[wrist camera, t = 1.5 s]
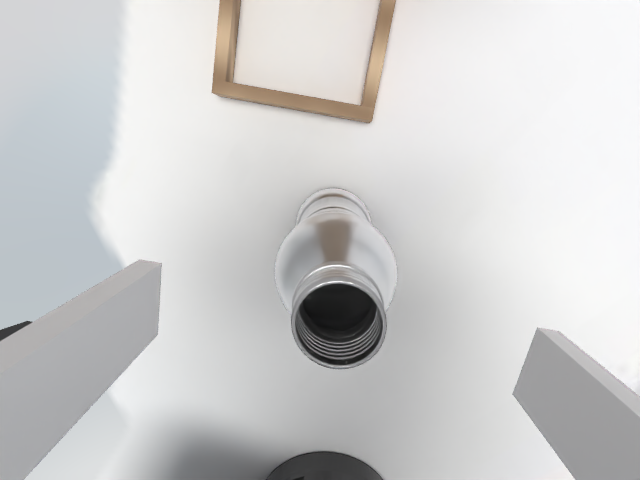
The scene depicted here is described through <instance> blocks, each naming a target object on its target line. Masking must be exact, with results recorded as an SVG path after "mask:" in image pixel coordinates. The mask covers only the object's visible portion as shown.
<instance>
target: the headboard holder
mask: <svg viewBox="0 0 640 480" xmlns="http://www.w3.org/2000/svg"><path fill="white" fill-rule="evenodd" d="M395 2H396V0H380V5H379V11H378V16H377V21H376V27H375V32H374V37H373V43H372V48H371V53H370V58H369V64H368V69H367V74H366V80H365V85H364V90H363V96H362V101H361V106H359V105H354V104H348V103H343V102H337V101H331V100H326V99H320V98H315V97H309V96H304V95H298V94H292V93H287V92H281V91H276V90H270V89H265V88H259V87H253V86H248V85H242V84H237V83H233V73H234V63H235V54H236V44H237V34H238V24H239V14H240V4H241V0H220V4H219V16H218V27H217V39H216V50H215V62H214V73H213V84H212V93H214V94H216V95H218V96H220V97H226V98H231V99H237V100H243V101H248V102H254V103H259V104H265V105H271V106H276V107H282V108H287V109H293V110H299V111H304V112H310V113H315V114H321V115H327V116H332V117H338V118H343V119H349V120H355V121H360V122H366V123H370V122H372V118H373V113H374V108H375V103H376V98H377V93H378V88H379V83H380V78H381V73H382V68H383V63H384V58H385V52H386V47H387V42H388V37H389V32H390V27H391V22H392V17H393V12H394V7H395Z"/></svg>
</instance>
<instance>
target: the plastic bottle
mask: <svg viewBox="0 0 640 480" xmlns="http://www.w3.org/2000/svg"><path fill="white" fill-rule="evenodd" d="M274 272H275V282H276V286H277V289H278V292H279V295H280V298H281V300H282V302H283V304H284V306H285V308H286V310H287V311H288V312H289V313H290V315H291V325H292V332H293V336H294V339H295V341H296V343H297V345H298V347H299V348H300V350H301V351H302V352H303V353H304V354H305V355H306V356H307V357H308V358H309V359H310V360H312V361H314V362H315V363H317V364H319V365H321V366H324V367H327V368H333V369H348V368H353V367H356V366H359V365H361V364H363V363H365V362H366V361H368V360H370V359H371V358H372V357H373V356H374V355H375V354H376V353H377V352H378V350H379V349H380V347H381V346H382V343H383V341H384V339H385V334H386V327H387V325H386V314H385V312H386V311H387V309H388V308H389V306H390V304H391V301H392V299H393V296H394V293H395V289H396V284H397V264H396V260H395V256H394V253H393V251H392V249H391V246H390V244H389V243H388V242H387V240H386V239H385V237H384V236H383V235H382V234H381V233H380V232H379V231H378V230H377V229H376V228H375V227H374V226H373V225H372V222H371V217H370V214H369V212H368V210H367V208H366V206H365V205H364V203H363V202H362V201H361V200H360V199H359V198H358V197H357V196H355V195H354V194H352V193H351V192H348V191H346V190H343V189H337V188H328V189H323V190H320V191H318V192H316V193H314V194H312V195H311V196H310V197H308V198H307V199H306V200H305V202H304V203H303V204H302V206H301V208H300V209H299V212H298V215H297V218H296V226H295V227H294V228H293V229H292V231H291V232H290V233H289V234H288V235H287V236H286V237H285V239H284V241H283V242H282V244H281V246H280V248H279V251H278V254H277V257H276V261H275V271H274Z"/></svg>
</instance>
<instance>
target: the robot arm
mask: <svg viewBox="0 0 640 480" xmlns="http://www.w3.org/2000/svg"><path fill="white" fill-rule="evenodd" d="M161 267H162V263H157V262H151V261H145V260H140V259H139V260H138V261H136V262H134V263H133V264H131V265H129V266H128V267H126V268H124V269H122V270H121V271H119V272H117V273H116V274H114V275H112V276H110V277H109V278H107V279H105V280H104V281H102V282H100V283H99V284H97V285H95V286H93V287H92V288H90V289H88V290H87V291H85V292H83V293H82V294H80V295H78V296H76V297H75V298H73V299H71V300H70V301H68V302H66V303H65V304H63V305H61V306H60V307H58V308H56V309H54V310H53V311H51V312H49V313H48V314H46V315H44V316H42V317H41V318H39V319H37V320H36V321H34V322H30V321H26V322H23V323H20V324H17V325H14V326H11V327H8V328H5V329H2V330H0V480H24V479H25V478H26V477H27V476H28V475H29V473H30V472H31V471H32V470H33V469H34V468H35V467H36V466H37V465H38V464H39V463H40V462H41V460H42V459H43V458H44V457H45V456H46V455H47V454H48V453H49V452H50V451H51V449H52V448H53V447H54V446H55V445H56V444H57V443H58V442H59V441H60V440H61V439H62V438H63V437H64V436H65V434H66V433H67V432H68V431H69V430H70V429H71V428H72V427H73V426H74V425H75V424H76V423H77V421H78V420H79V419H80V418H81V417H82V416H83V415H84V414H85V413H86V412H87V411H88V410H89V408H90V407H91V406H92V405H93V404H94V403H95V402H96V401H97V400H98V399H99V398H100V397H101V395H102V394H103V393H104V392H105V391H106V390H107V389H108V388H109V387H110V386H111V385H112V384H113V382H114V381H115V380H116V379H117V378H118V377H119V376H120V375H121V374H122V373H123V372H124V371H125V369H126V368H127V367H128V366H129V365H130V364H131V363H132V362H133V361H134V360H135V359H136V358H137V356H138V355H139V354H140V353H141V352H142V351H143V350H144V349H145V348H146V347H147V346H148V345H149V343H150V342H151V341H152V340H153V339H154V338H155V337H156V336H157V335H158V321H159V303H160V285H161ZM513 395H514V397H515V398H516V399H517V401H518V402H519V404H520V405H521V406H522V408H523V409H524V410H525V412H526V413H527V414H528V416H529V417H530V418H531V420H532V421H533V423H534V424H535V425H536V427H537V428H538V429H539V431H540V432H541V433H542V435H543V436H544V438H545V439H546V440H547V442H548V443H549V444H550V446H551V447H552V448H553V450H554V451H555V452H556V454H557V455H558V457H559V458H560V459H561V461H562V462H563V463H564V465H565V466H566V467H567V469H568V470H569V472H570V473H571V474H572V476H573V477H574V478H575V480H640V396H638V395H637V394H636V393H635V392H633V391H632V390H631V389H630V388H629V387H627V386H626V385H625V384H624V383H622V382H621V381H620V380H619V379H617V378H616V377H615V376H614V375H612V374H611V373H610V372H609V371H607V370H606V369H605V368H604V367H603V366H601V365H600V364H599V363H598V362H596V361H595V360H594V359H593V358H591V357H590V356H589V355H588V354H586V353H585V352H584V351H583V350H581V349H580V348H579V347H578V346H577V345H575V344H574V343H573V342H572V341H570V340H569V339H568V338H567V337H565V336H564V335H563V334H562V333H560V332H559V331H555V330H549V329H543V328H537V330H536V332H535V335H534V338H533V340H532V343H531V346H530V348H529V351H528V354H527V357H526V359H525V362H524V365H523V367H522V370H521V373H520V376H519V378H518V381H517V384H516V386H515V389H514V392H513ZM267 480H382V479H381V477H380V476H379V475H378V474H377V473H376V472H375V471H374V470H373V469H372V468H370V467H369V466H368V465H366V464H365V463H363V462H361V461H359V460H357V459H355V458H352V457H349V456H346V455H342V454H337V453H327V452H321V453H310V454H305V455H301V456H298V457H295V458H293V459H291V460H289V461H287V462H285V463H283V464H282V465H280V466H279V467H278V468H276V469H275V470H274V471H273V472H272V473H271V474H270V476H269V477H268V478H267Z"/></svg>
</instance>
